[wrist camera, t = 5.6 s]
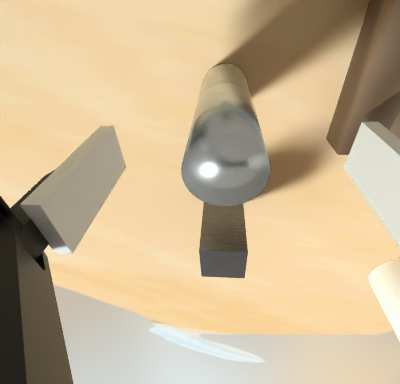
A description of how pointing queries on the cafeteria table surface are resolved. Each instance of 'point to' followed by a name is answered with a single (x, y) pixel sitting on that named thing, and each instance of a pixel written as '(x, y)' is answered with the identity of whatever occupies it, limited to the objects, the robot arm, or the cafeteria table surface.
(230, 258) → the square bit
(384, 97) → the socket block
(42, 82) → the cafeteria table surface
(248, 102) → the grey cylinder
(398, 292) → the mug
